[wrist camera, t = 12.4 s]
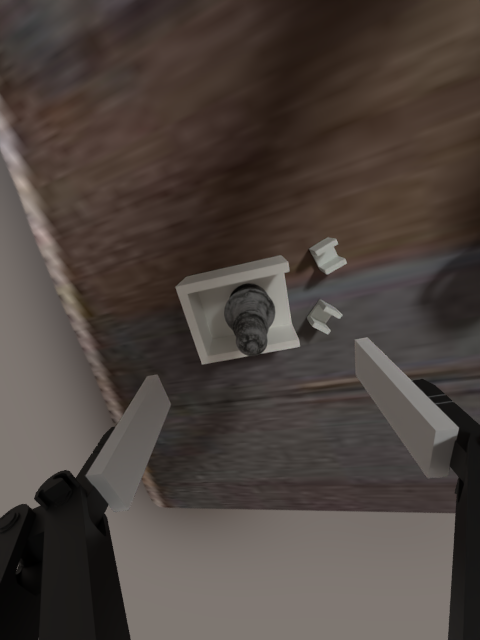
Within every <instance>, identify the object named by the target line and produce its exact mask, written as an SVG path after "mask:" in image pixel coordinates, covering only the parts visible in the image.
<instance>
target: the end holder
mask: <svg viewBox="0 0 480 640" xmlns="http://www.w3.org/2000/svg"><path fill="white" fill-rule="evenodd" d="M285 272H290V271H289V264H288V261H287V260H286V259H285V258H283V257H282V256H281V255H279V256H275V257H271V258H266V259H262V260H257V261H253V262H248V263H244V264H240V265H235V266H231V267H226V268H222V269H218V270H213V271H209V272H204V273H200V274H195V275H191V276H187V277H185V278H184V279H183V280H182V281H181V282H180V283H179V284H178V285H177V286H176V287H175V288H176V291H177V294H178V296H179V299H180V302H181V305H182V308H183V311H184V314H185V317H186V320H187V323H188V325H189V328H190V331H191V334H192V337H193V340H194V343H195V346H196V349H197V351H198V354H199V357H200V360H201V363H202V365H203V364H208V363H214V362H219V361H225V360H230V359H236V358H241V357H246V356H247V355H245V354H243V353H241V352H240V351H239V349H238V347H237V345H236V336H235V334H234V332H233V330H232V329H231V328H230V327H229V326H228V324H227V323H226V321H225V316H224V309H225V306H226V303H227V301H228V300H229V298H230V295H231V293H232V292H233V290H234V289H236V288H237V287H238V286H240V285H242V284H247V283H250V284H256V285H259V286H260V287H262V288H263V289H264V290H265V291H266V292H267V294H268V296H269V297H270V298H271V299H272V301H273V303H274V306H275V312H276V313H275V319H274V321H273V323H272V325H271V326H270V327H269V330H268V333H267V340H268V342H267V347H266V349H265V350H264V351H263V352H262V353H261V354H263V353H268V352H274V351H279V350H285V349H290V348H296V347H300V342H299V338H298V336H297V334H296V332H295V330H294V327H293V325H292V322H291V315H290V309H289V302H288V295H287V289H286V282H285V275H284V273H285Z"/></svg>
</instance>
